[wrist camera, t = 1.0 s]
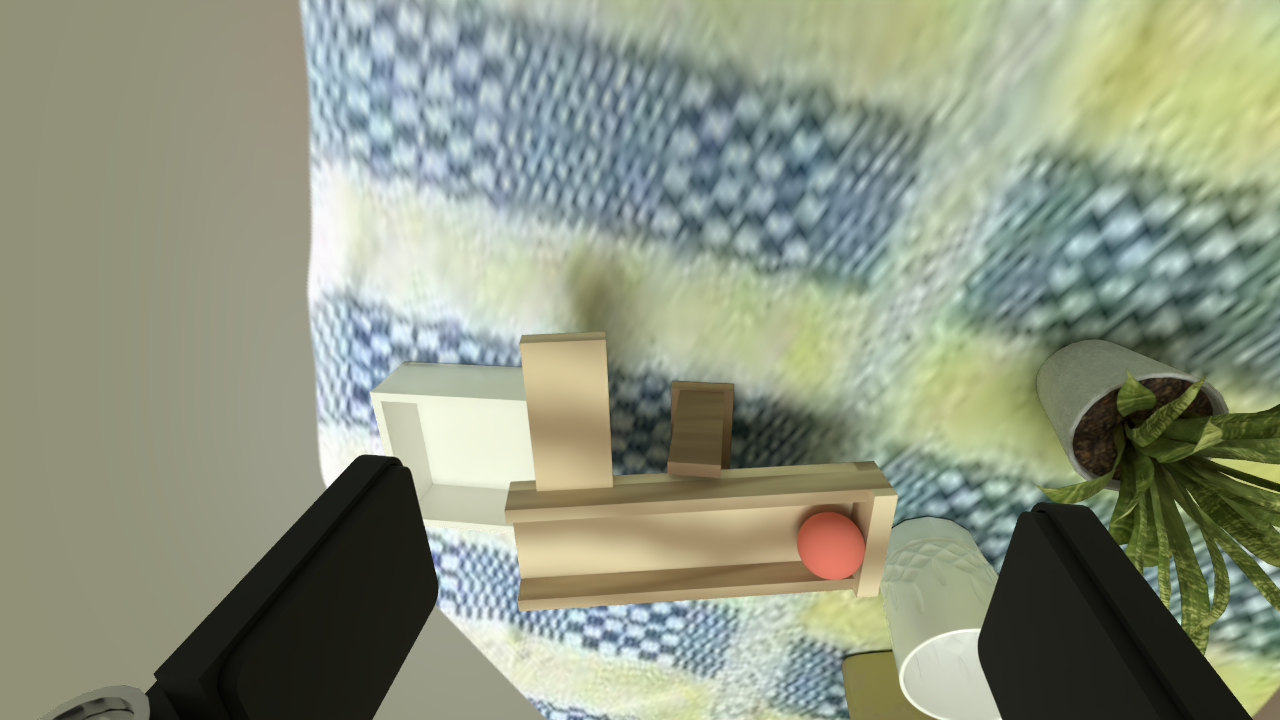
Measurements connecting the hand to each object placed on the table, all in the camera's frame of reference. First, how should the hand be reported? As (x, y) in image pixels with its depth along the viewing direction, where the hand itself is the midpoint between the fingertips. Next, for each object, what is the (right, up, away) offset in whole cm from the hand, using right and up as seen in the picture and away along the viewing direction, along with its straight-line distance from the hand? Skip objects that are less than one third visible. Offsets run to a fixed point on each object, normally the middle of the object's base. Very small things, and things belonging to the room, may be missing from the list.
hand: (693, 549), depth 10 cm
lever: (+2, -2, +24) cm, 25 cm away
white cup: (+19, -11, +34) cm, 40 cm away
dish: (-11, -2, +34) cm, 36 cm away
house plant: (+26, +1, +27) cm, 38 cm away
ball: (+9, -7, +23) cm, 26 cm away
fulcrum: (+3, -3, +32) cm, 32 cm away
